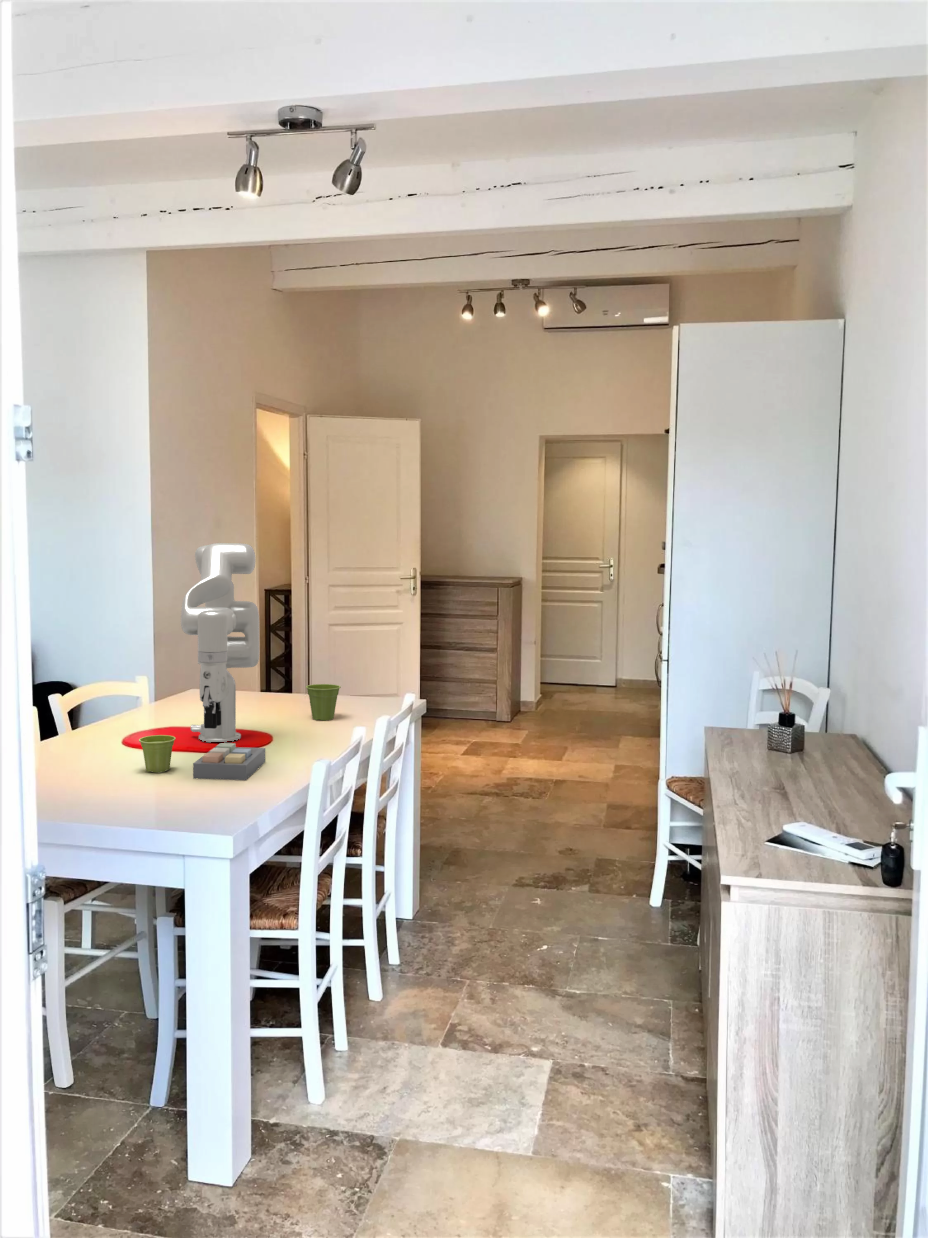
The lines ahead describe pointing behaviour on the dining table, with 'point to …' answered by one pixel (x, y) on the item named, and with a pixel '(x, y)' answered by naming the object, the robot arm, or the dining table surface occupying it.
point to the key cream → (220, 751)
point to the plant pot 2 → (323, 700)
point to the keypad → (230, 767)
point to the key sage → (227, 746)
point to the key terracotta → (213, 757)
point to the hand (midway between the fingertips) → (212, 726)
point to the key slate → (242, 752)
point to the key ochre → (235, 758)
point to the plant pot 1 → (157, 752)
